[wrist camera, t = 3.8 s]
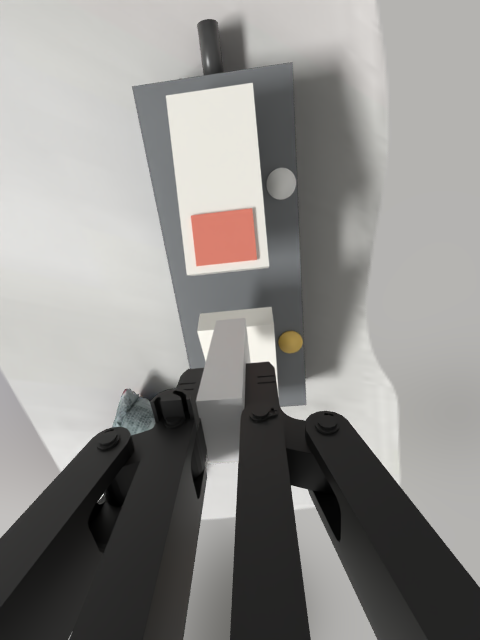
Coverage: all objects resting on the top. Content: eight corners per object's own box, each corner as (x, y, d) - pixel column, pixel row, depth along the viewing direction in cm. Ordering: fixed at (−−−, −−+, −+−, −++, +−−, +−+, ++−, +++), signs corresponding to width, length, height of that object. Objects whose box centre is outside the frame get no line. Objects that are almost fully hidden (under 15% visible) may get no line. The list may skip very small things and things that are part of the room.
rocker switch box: (139, 44, 20) (104, 1, 15) (282, 21, 19) (293, -32, 14) (204, 388, 30) (195, 426, 25) (300, 380, 29) (309, 419, 25)
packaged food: (218, 401, 31) (212, 439, 26) (184, 482, 35) (174, 526, 31) (131, 373, 30) (109, 406, 25) (108, 459, 35) (85, 500, 30)
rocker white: (174, 112, 18) (164, 93, 16) (253, 101, 17) (252, 80, 15) (193, 275, 18) (186, 274, 17) (268, 268, 18) (269, 266, 16)
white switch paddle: (199, 313, 19) (197, 333, 18) (271, 306, 19) (274, 325, 18) (222, 400, 25) (221, 420, 24) (277, 396, 25) (279, 416, 24)
